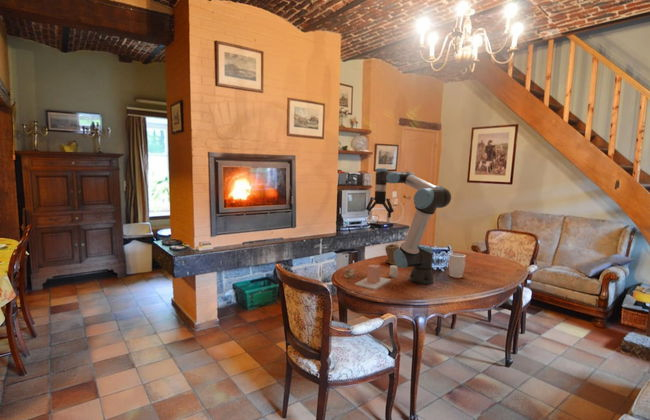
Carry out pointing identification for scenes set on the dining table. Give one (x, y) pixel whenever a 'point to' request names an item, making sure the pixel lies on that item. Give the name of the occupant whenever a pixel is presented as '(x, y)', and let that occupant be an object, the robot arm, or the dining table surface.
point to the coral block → (373, 273)
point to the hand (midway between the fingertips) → (378, 221)
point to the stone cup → (391, 253)
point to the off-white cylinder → (393, 271)
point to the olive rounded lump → (349, 273)
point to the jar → (456, 264)
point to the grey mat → (372, 285)
